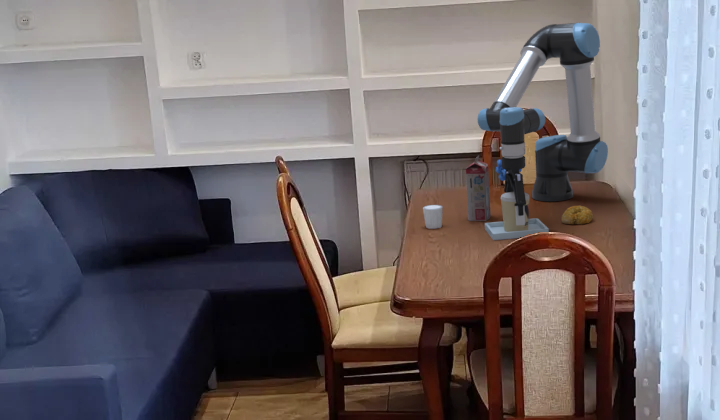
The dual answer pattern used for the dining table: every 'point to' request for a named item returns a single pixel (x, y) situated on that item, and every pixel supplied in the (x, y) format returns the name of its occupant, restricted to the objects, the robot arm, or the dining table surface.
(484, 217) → the juice carton
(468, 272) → the dining table surface
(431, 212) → the white tapered cylinder
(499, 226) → the tray
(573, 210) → the bagel
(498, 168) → the grapes
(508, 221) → the coffee cup
